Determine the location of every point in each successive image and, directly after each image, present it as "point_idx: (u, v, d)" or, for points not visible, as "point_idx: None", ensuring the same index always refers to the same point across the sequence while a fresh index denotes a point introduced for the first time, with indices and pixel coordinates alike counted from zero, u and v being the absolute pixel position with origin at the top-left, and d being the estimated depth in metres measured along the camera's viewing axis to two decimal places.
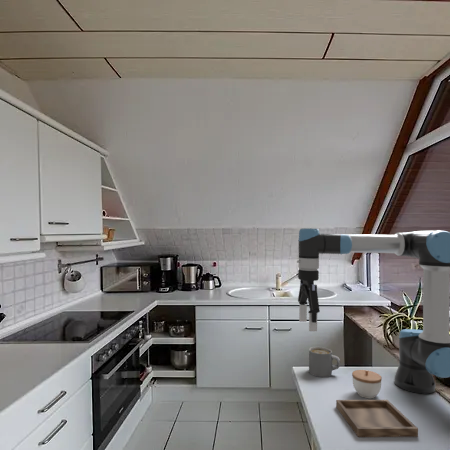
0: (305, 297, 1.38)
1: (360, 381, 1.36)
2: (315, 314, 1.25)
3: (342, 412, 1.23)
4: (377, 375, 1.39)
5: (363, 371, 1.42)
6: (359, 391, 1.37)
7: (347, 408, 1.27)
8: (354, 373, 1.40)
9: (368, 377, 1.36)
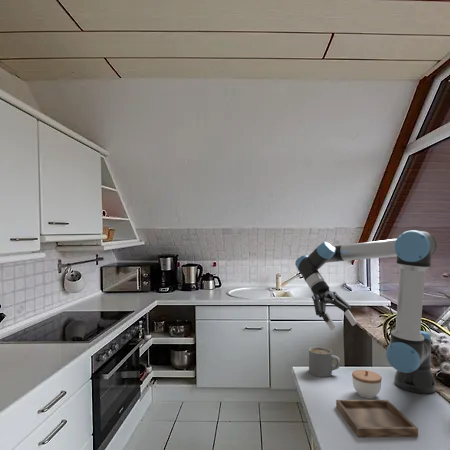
0: (339, 305, 1.57)
1: (360, 381, 1.36)
2: (323, 315, 1.48)
3: (342, 412, 1.23)
4: (377, 375, 1.39)
5: (363, 371, 1.42)
6: (359, 391, 1.37)
7: (347, 408, 1.27)
8: (354, 373, 1.40)
9: (368, 377, 1.36)
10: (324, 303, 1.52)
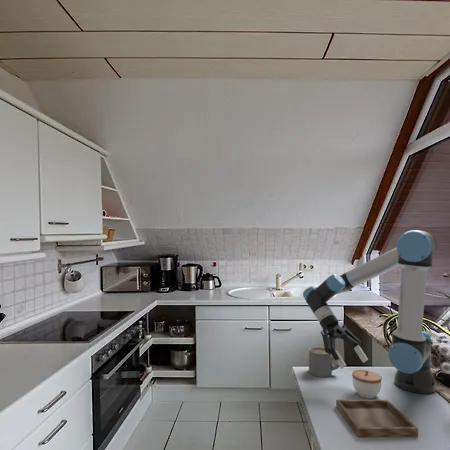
0: (349, 340, 1.52)
1: (360, 381, 1.36)
2: (332, 352, 1.43)
3: (342, 412, 1.23)
4: (377, 375, 1.39)
5: (363, 371, 1.42)
6: (359, 391, 1.37)
7: (347, 408, 1.27)
8: (354, 373, 1.40)
9: (368, 377, 1.36)
10: (333, 339, 1.47)
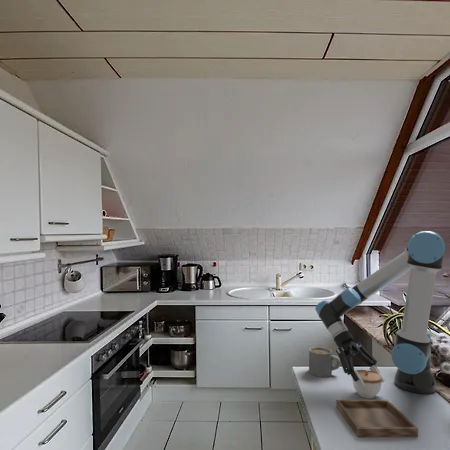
0: (364, 358, 1.45)
1: None
2: (352, 373, 1.37)
3: (342, 412, 1.23)
4: (377, 375, 1.39)
5: (363, 371, 1.42)
6: (359, 391, 1.37)
7: (347, 408, 1.27)
8: None
9: (368, 377, 1.36)
10: (351, 358, 1.41)
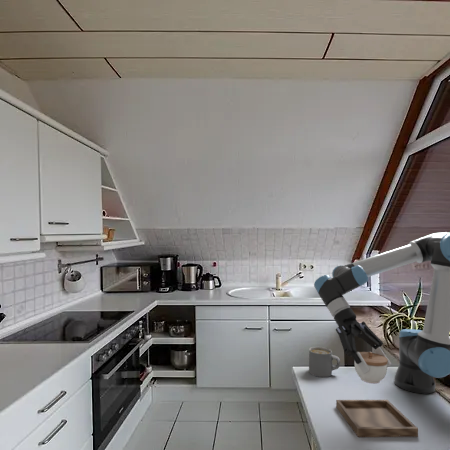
0: (368, 339, 1.27)
1: None
2: (353, 354, 1.19)
3: (342, 412, 1.23)
4: (383, 357, 1.21)
5: (367, 353, 1.25)
6: (361, 375, 1.19)
7: (347, 408, 1.27)
8: None
9: (372, 359, 1.19)
10: (353, 338, 1.24)
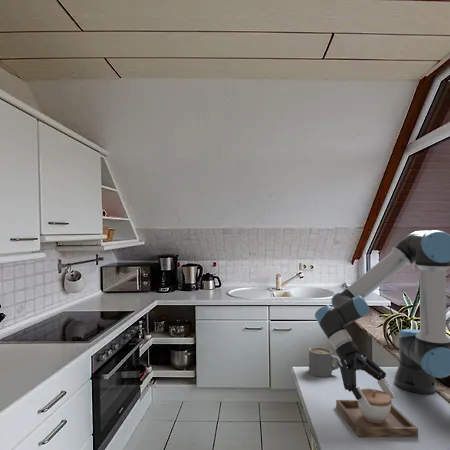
0: (371, 372, 1.26)
1: None
2: (353, 390, 1.17)
3: (342, 412, 1.23)
4: (386, 396, 1.20)
5: (370, 390, 1.23)
6: (365, 415, 1.17)
7: (347, 408, 1.27)
8: None
9: (376, 399, 1.17)
10: (354, 372, 1.22)
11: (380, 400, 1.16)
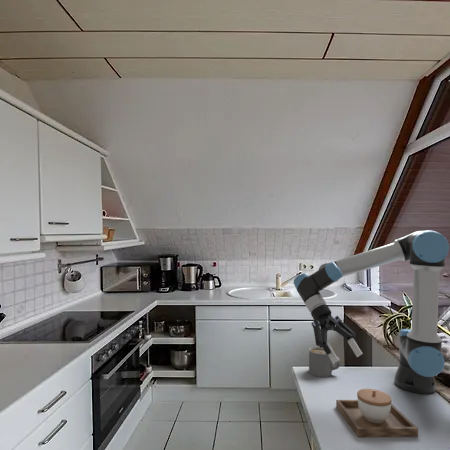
0: (342, 332, 1.38)
1: (367, 403, 1.16)
2: (324, 346, 1.29)
3: (342, 412, 1.23)
4: (386, 396, 1.20)
5: (370, 390, 1.23)
6: (365, 415, 1.17)
7: (347, 408, 1.27)
8: (359, 393, 1.21)
9: (376, 399, 1.17)
10: (325, 331, 1.34)
11: (380, 400, 1.16)
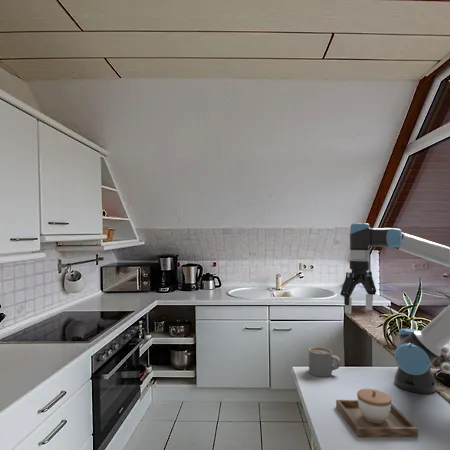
0: (366, 287, 1.50)
1: (367, 403, 1.16)
2: (346, 298, 1.43)
3: (342, 412, 1.23)
4: (386, 396, 1.20)
5: (370, 390, 1.23)
6: (365, 415, 1.17)
7: (347, 408, 1.27)
8: (359, 393, 1.21)
9: (376, 399, 1.17)
10: (354, 285, 1.45)
11: (380, 400, 1.16)
